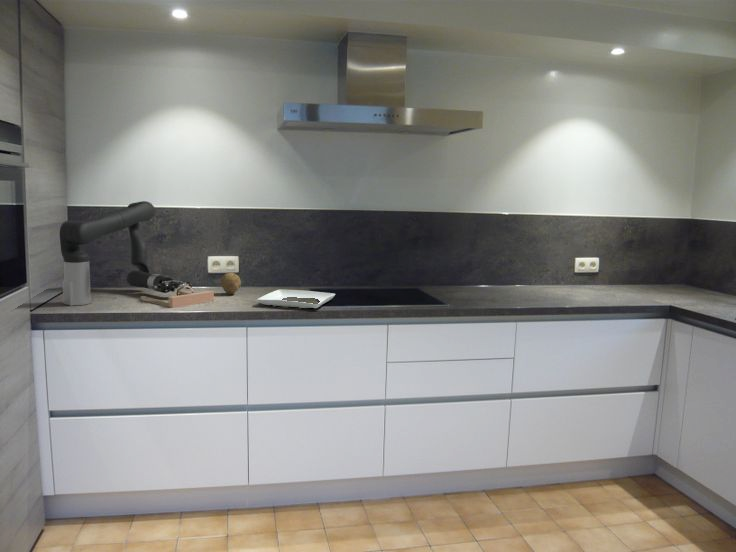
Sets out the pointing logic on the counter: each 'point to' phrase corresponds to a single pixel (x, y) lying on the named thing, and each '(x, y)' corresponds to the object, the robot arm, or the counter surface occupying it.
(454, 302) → the counter surface
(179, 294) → the birch track
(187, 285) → the ring
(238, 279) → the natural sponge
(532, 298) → the counter surface
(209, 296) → the bar
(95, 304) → the counter surface
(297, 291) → the square plate
